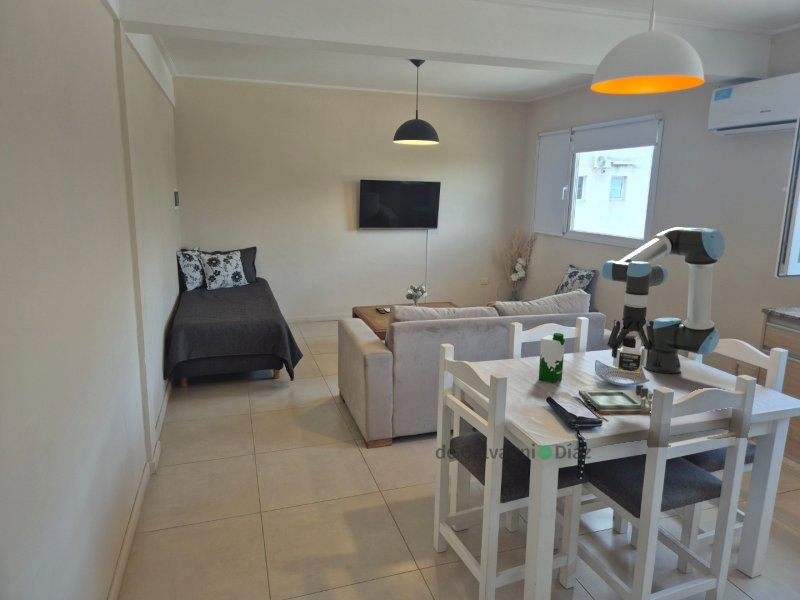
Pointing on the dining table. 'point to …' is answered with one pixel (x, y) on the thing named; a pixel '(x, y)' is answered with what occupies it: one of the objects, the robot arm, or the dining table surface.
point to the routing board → (620, 400)
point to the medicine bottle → (630, 354)
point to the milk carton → (552, 358)
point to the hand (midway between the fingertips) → (629, 366)
